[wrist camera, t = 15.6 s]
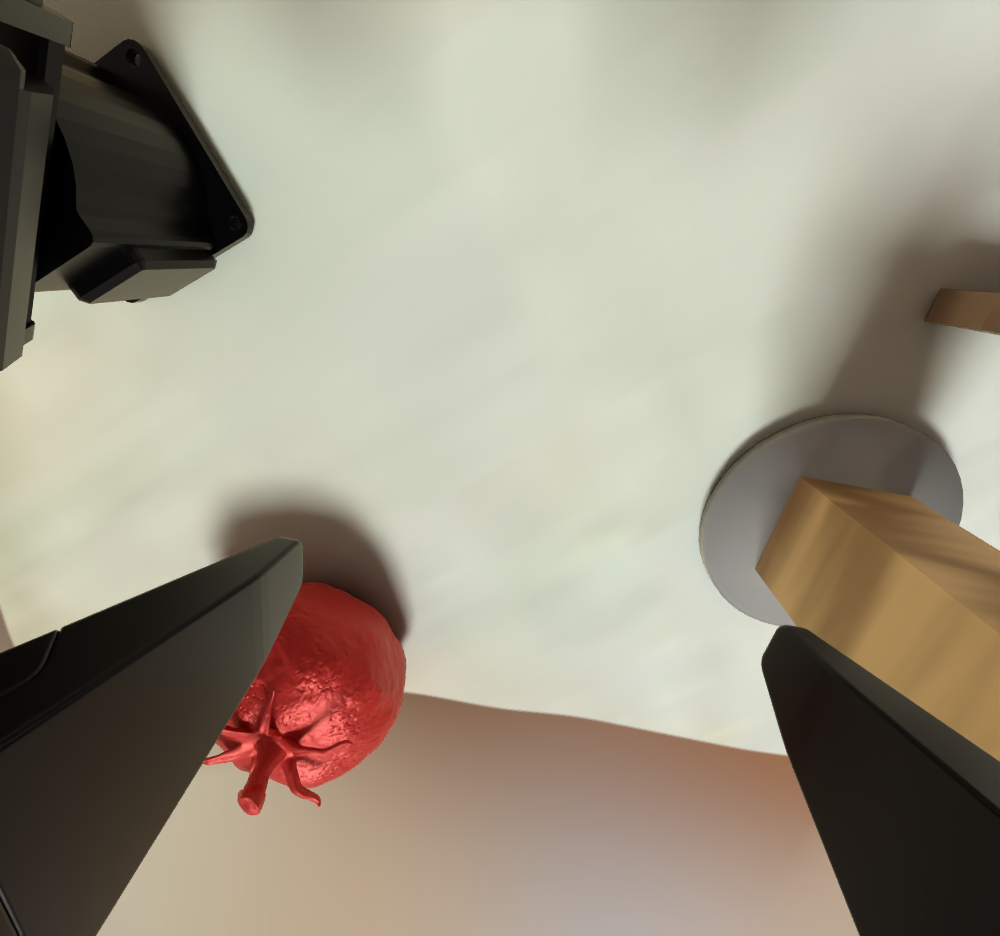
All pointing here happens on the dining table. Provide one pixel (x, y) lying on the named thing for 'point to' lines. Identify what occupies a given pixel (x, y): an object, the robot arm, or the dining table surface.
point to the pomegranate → (316, 697)
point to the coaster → (819, 455)
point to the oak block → (895, 597)
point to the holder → (967, 310)
